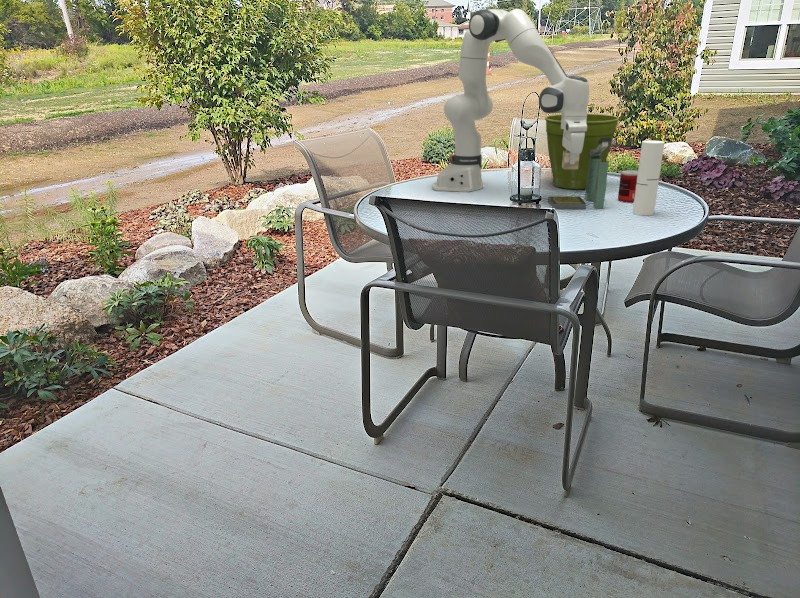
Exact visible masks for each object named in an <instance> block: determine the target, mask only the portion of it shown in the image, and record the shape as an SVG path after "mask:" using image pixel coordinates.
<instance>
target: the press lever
mask: <svg viewBox="0 0 800 598" xmlns="http://www.w3.org/2000/svg"><path fill="white" fill-rule="evenodd" d="M610 142H611V138H600V139H599V140H598V144H600V145H599V146H598V147H597V148H596V149H590V152H589V156H590V157H601V156H602V152H603V151H604V150H605V149H606V148H607V147H608V144H609V143H610Z"/></svg>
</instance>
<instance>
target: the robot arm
mask: <svg viewBox="0 0 800 598" xmlns="http://www.w3.org/2000/svg"><path fill="white" fill-rule="evenodd" d="M502 41H506V42H507V45H508V46H509V49H510V51H511V52H512V54H513V56H514V57H515V58H516V59H517V60H518V61H519V62H520V63H522V64H524V65H528V66H531V67H534V68H537V69H538V70H539V71H541V72H542V73H543V74H544V75H545V77H546V78H547V80H548V81H549V83H550V86H547V87H545V88H543V89H542V90H541V91H540V94H539V96H538V106H539V108H540V109H541V111H542V112H543V113H546V114H552V115H553V114H562V118H561V129H564V132H563V141H562V145H563V147H565V148H566V151H569V152H570V160H569V163H570V164H575V159H576V156H577V154H580V153H581V152H582V149H583V144H584V137H585V132H584V131H587V124H586V123H587V114H588V113H587V112H588V111H587V108H588V105H589V99H590V98H589V97H590V85H589V81H588V79H587V78H585V77H583V76H578V75H567V74H566V72H565V70H564V69H563V67H562V66H561V64H560V63H559V61H558V59H557V58H556V56H555V54H553V53H552V51H551V50H550V49H549V48H548V46H547V44H546V43H545V41H544V39H543V38H542V37H541V36H540V34H539V32H538V30H537V28H536V25H535V24H534V22H533V21H532V20H531V18H530V17H529V16H528V14H527V13H526V12H525V11H524V10H523V9H521V8H515V9H512V10H507V9H501V8H493V9H492V8H491V9H489V8H488V9H487V8H484V9H479V10H477V11H474V13H473V14H472V15H471V17H469V21H468V29H467V30H466V31H465V32H464V36H463V38H462V42H461V47H460V48H461V49H460V55H459V67H458V78H459V80H460V81H461V82H462V86H463V93H462V94H456V95H454V96H452V97H450V98H448V99H447V100H446V101H445V103H444V108H443V113H444V115H445V117H446V119H447V120H448V121H449V122H450V124H451V126H452V130H453V134H454V154H452V153H451V154H449V156H448V158H449V162H450V163H449V164H448V165H446V166H445V167H444V168H443V169H442V170H440V171H439V173H438V175H437V178H436V182H433V183H432V185H431V189H432V190H433V191H435V192H436V191H438V192H439V191H440V192H441V191H442V192H460V193H461V192H462V193H463V192H465V193H466V192H467V193H468V192H469V193H470V192H472V191H477V190H481V189H483V188H484V184H483V179H482V165H483V163H482V162H483V157H482V155H483V154H482V153H481V151H482V136H481V133H480V132H478V130H477V127H476V121H478V120H482V119H484V118H486V117H488V116H489V115H490V114H491V113H492V111H493V109H494V108H493V107H494V103H493V100H492V97H491V96H490V95H489V92H488V88H487V87H488V86H487V68H488V67H487V66H488V58H489V50H490V49H489V48H490V46H491V45H492V43H493V42H495V43H499V42H502Z"/></svg>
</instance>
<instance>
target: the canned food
mask: <svg viewBox="0 0 800 598" xmlns="http://www.w3.org/2000/svg"><path fill="white" fill-rule="evenodd" d="M637 176H638V170H633V169H629V170H628V169H627V170H622V171H621V172H620V177H619V178H620V179H619V185H618V186H619V187H618V193H617V200H618V201H619V202H621V201H623V202H622V203H634V198H635V191H636V183H637Z"/></svg>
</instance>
